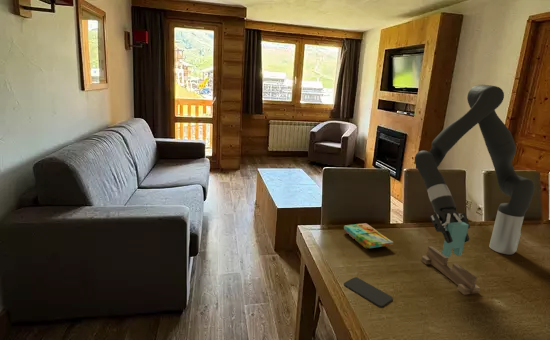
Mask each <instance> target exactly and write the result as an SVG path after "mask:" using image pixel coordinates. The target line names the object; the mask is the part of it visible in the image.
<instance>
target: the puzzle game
mask: <svg viewBox="0 0 550 340" xmlns="http://www.w3.org/2000/svg"><path fill="white" fill-rule="evenodd" d="M343 229H344V232H345V234H347V235H348V234H349V235H348V236H349V237H351V238H352V239H353V240H354V239H355V242H357V243H358V244H359V245H360V246H362V247H363V248H365V249H374V248H380V247H388V246H394V241H393V240H391V239H389V238H388V237H387V236H385V235H383V234H382V233H381V232H379V231H378V230H377V229H376V228H374V227H372V226H371V225H369V224H368V223H366V222H365V223H356V224H347V225H343Z"/></svg>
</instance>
